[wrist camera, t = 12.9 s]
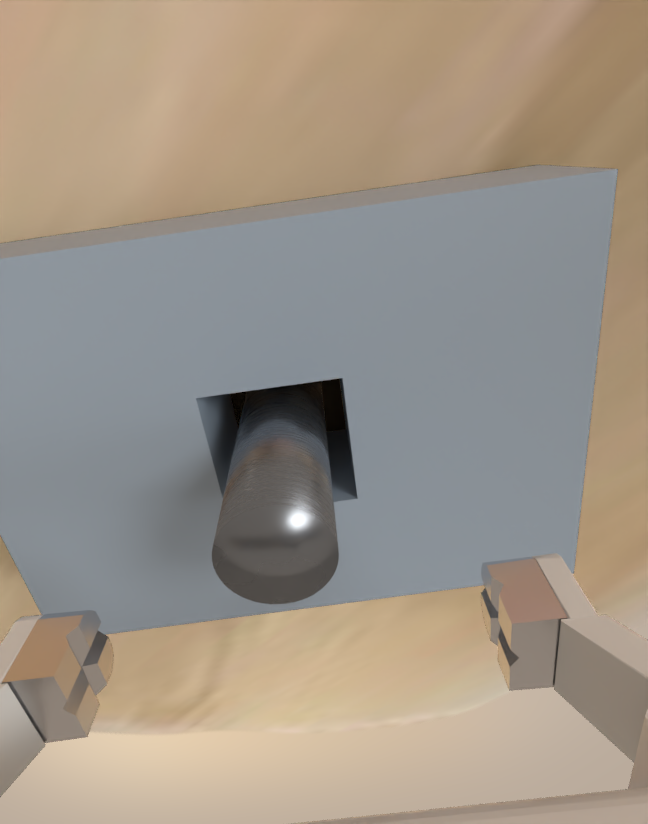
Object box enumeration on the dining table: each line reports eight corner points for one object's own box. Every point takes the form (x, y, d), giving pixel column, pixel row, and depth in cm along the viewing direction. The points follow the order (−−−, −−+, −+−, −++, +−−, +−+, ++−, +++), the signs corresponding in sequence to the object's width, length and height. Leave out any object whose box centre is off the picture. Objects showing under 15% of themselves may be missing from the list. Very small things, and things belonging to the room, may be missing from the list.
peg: (316, 348, 21) (330, 497, 12) (326, 415, 22) (345, 595, 13) (241, 358, 21) (198, 515, 12) (255, 425, 22) (226, 611, 13)
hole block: (538, 164, 18) (618, 168, 14) (523, 495, 24) (573, 573, 20) (-29, 247, 18) (-134, 278, 14) (99, 552, 25) (55, 640, 20)
